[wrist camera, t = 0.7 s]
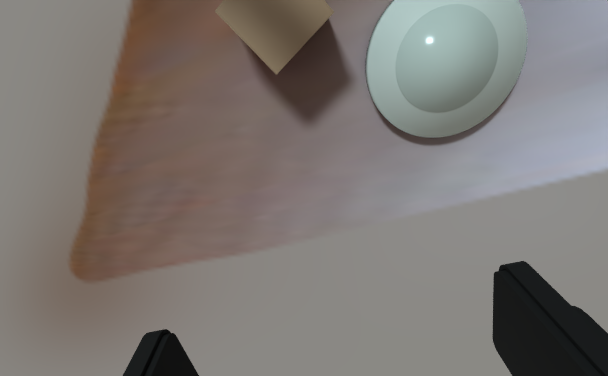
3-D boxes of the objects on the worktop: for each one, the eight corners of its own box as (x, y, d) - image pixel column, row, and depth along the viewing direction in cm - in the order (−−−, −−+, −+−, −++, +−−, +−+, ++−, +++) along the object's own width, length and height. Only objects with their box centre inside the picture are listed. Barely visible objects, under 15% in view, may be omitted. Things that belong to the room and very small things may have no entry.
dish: (464, -73, 26) (472, -78, 24) (546, 61, 30) (556, 62, 29) (334, 60, 30) (335, 61, 28) (423, 161, 34) (427, 165, 33)
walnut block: (278, -42, 26) (272, -62, 21) (328, 16, 28) (334, 12, 23) (231, 16, 28) (214, 11, 23) (280, 67, 30) (276, 74, 25)
